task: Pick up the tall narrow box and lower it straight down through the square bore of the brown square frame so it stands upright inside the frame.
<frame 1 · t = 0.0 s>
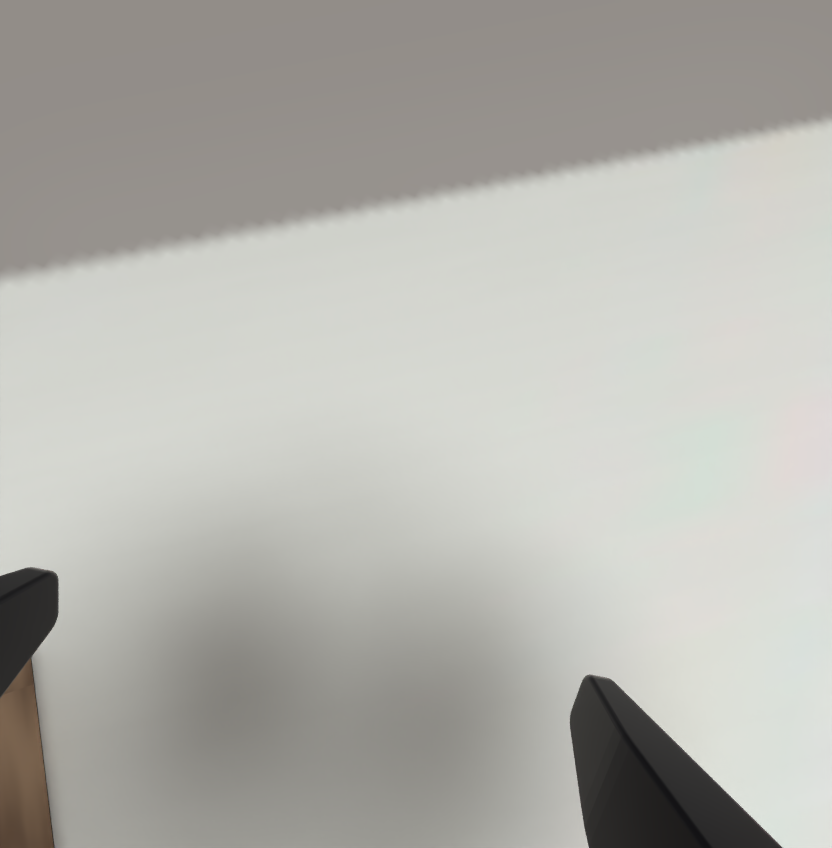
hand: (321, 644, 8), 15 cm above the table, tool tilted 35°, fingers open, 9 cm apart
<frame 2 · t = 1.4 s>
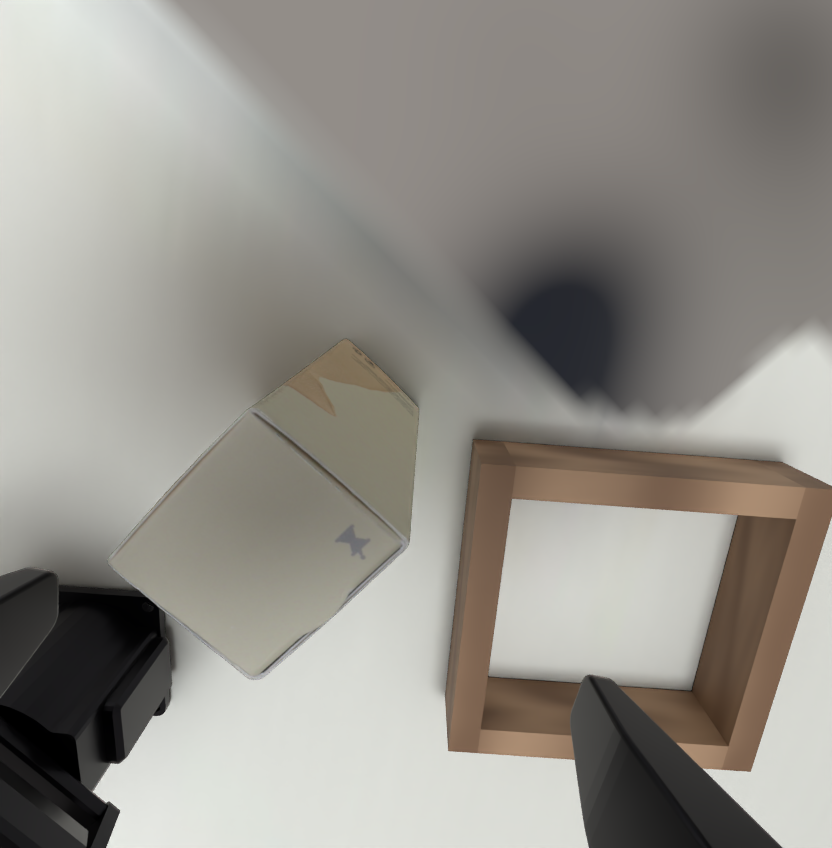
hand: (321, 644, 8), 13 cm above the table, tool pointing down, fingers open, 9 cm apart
box: (342, 416, 21), on the table
brown square frame: (601, 587, 23), on the table
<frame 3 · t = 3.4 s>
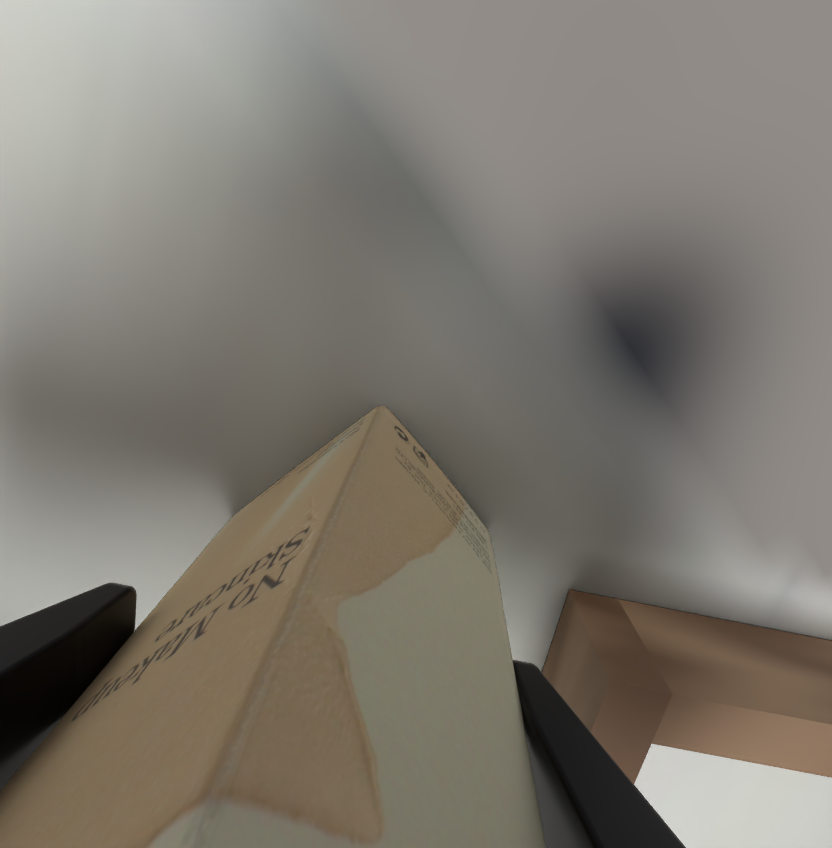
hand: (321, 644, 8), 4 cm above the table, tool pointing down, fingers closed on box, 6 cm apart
box: (357, 525, 13), on the table, touching gripper
brown square frame: (724, 822, 15), on the table
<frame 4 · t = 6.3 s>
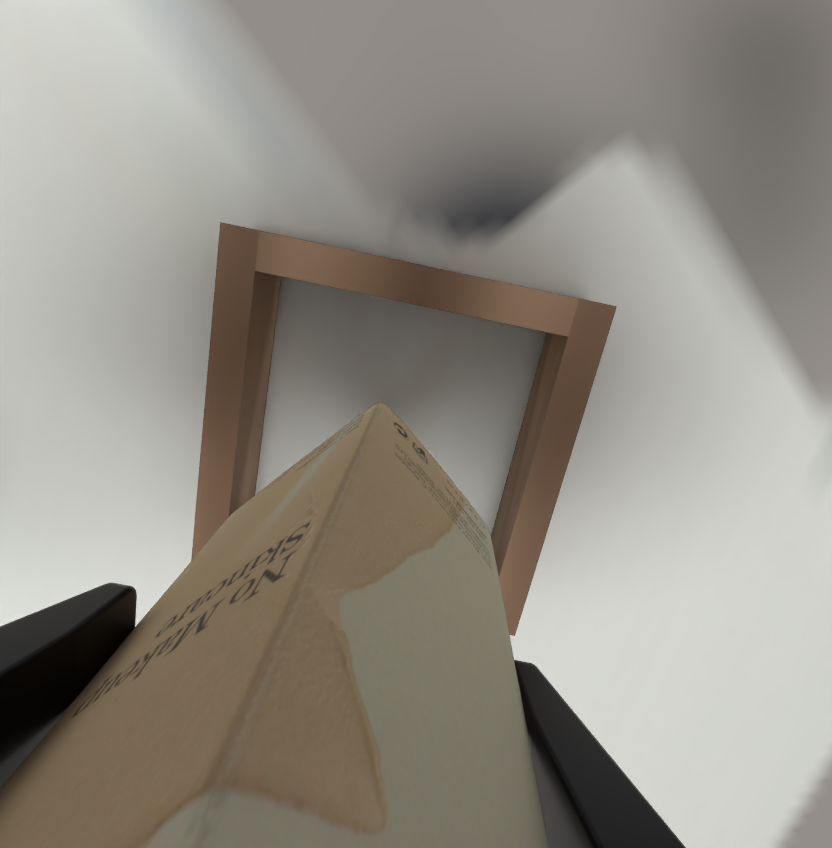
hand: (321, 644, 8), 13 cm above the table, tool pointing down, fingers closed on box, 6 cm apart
box: (357, 522, 13), point 9 cm above the table, touching gripper
brown square frame: (390, 427, 21), on the table
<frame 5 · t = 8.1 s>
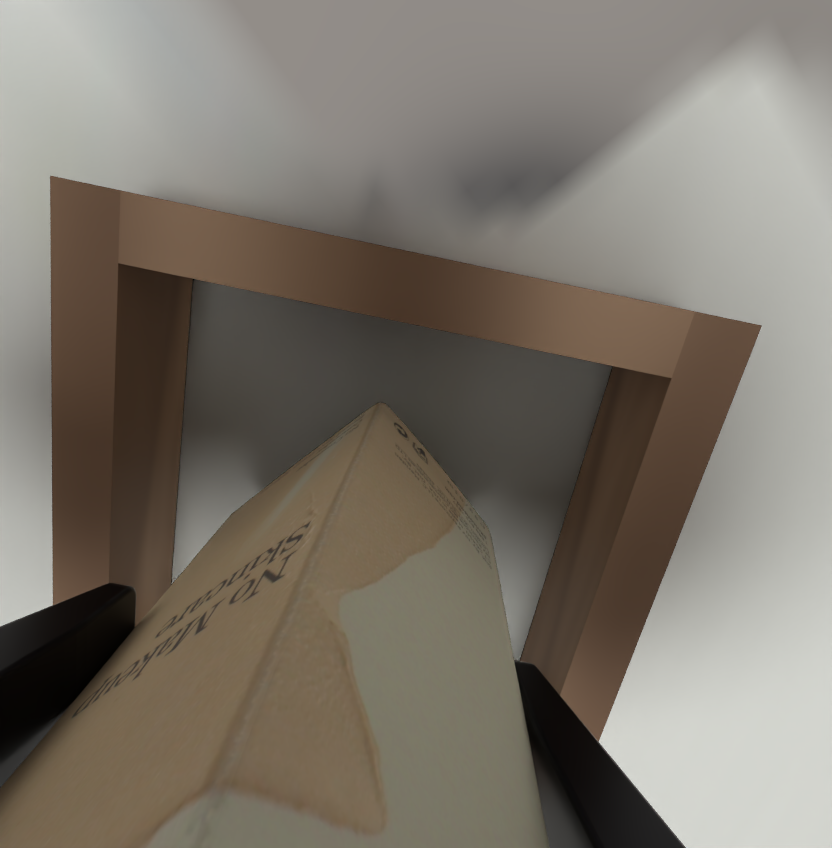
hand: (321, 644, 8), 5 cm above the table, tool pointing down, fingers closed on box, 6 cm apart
box: (357, 522, 13), point 1 cm above the table, touching gripper
brown square frame: (369, 504, 14), on the table
when the fingers open (4 cm above the table, at t = 9.6 s): box stays where it is, resting in brown square frame.
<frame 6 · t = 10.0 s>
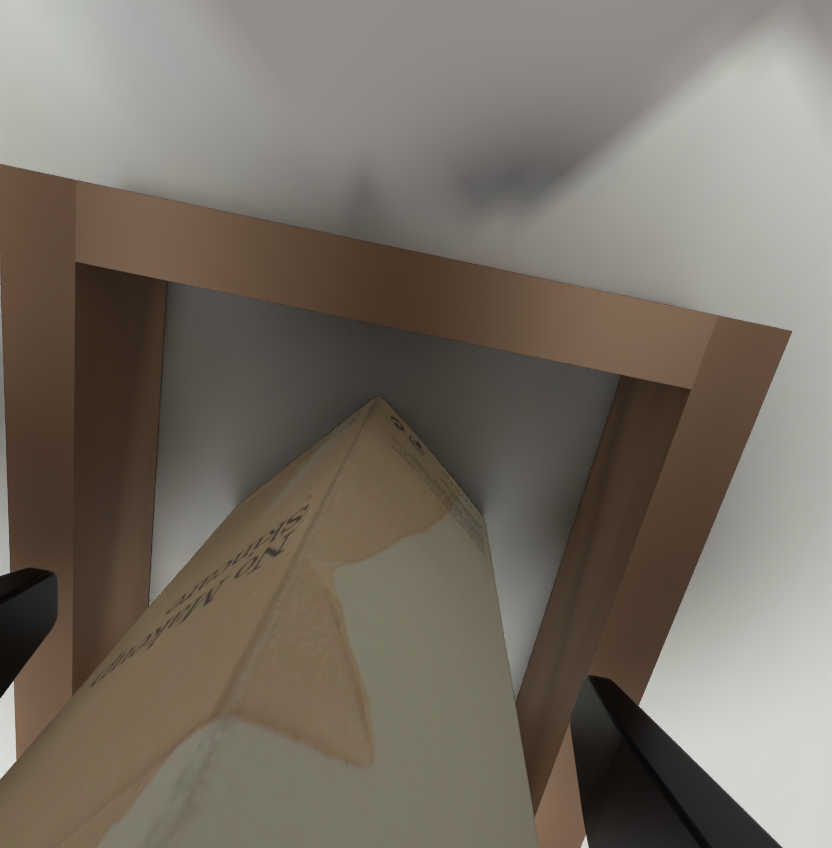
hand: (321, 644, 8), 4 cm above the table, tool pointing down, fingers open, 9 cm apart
box: (357, 513, 13), resting in brown square frame
brown square frame: (360, 521, 13), on the table
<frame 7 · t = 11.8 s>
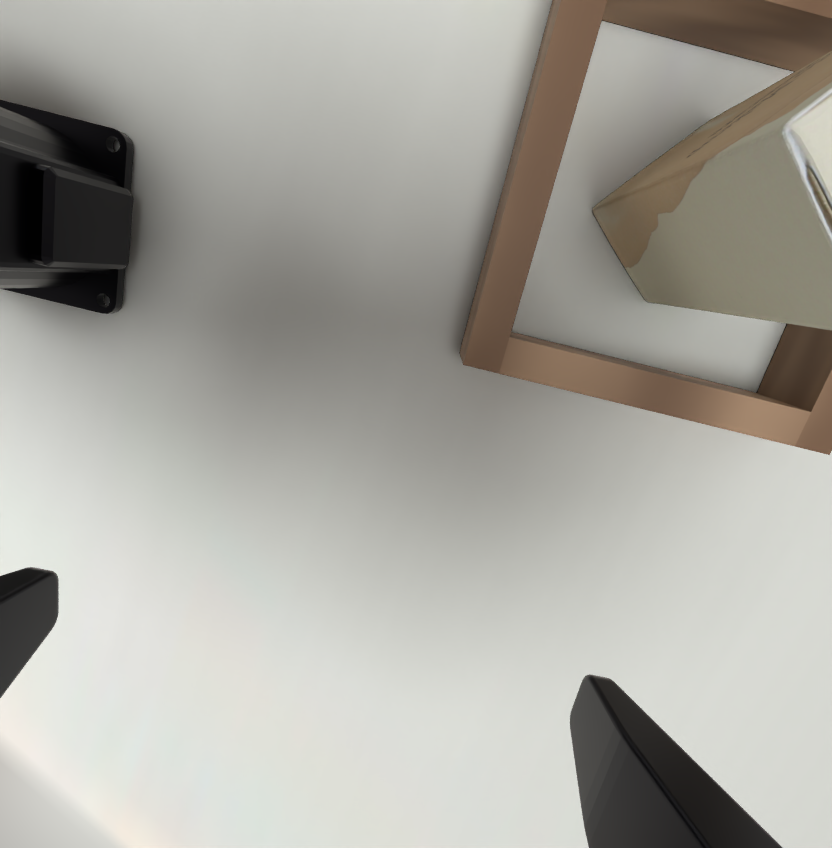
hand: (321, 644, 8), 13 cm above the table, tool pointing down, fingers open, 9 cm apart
box: (673, 219, 18), resting in brown square frame
brown square frame: (679, 220, 18), on the table
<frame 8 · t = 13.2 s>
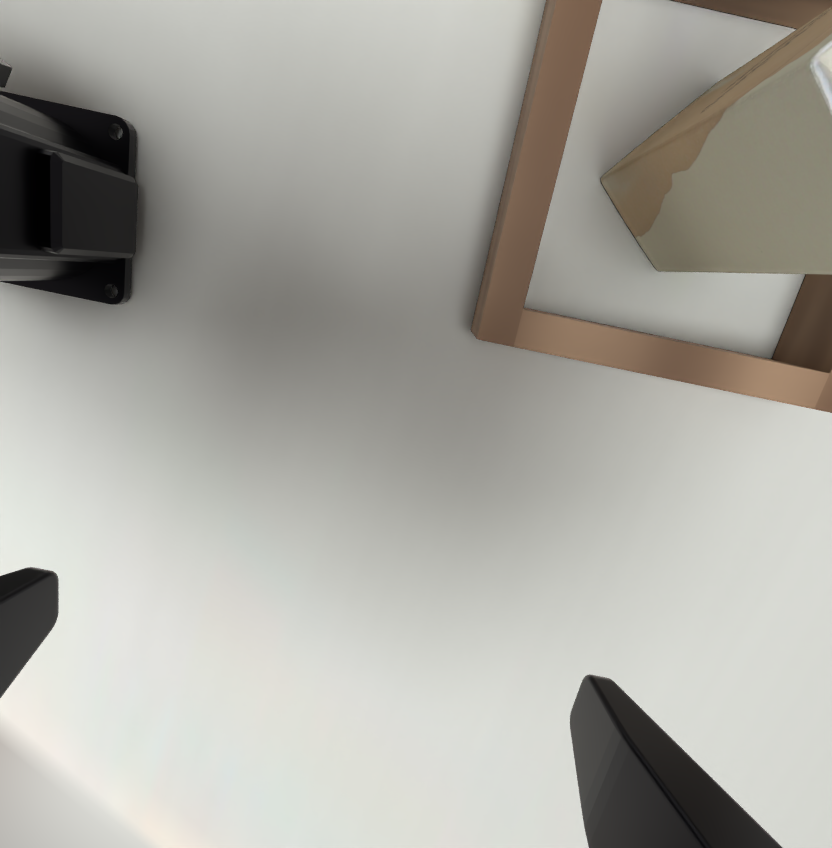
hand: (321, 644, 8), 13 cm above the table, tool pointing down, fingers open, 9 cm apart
box: (682, 186, 18), resting in brown square frame
brown square frame: (688, 187, 18), on the table
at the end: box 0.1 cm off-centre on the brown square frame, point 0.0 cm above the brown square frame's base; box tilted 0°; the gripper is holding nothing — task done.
